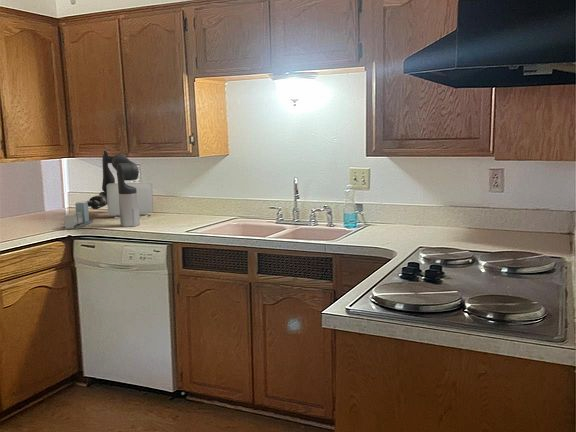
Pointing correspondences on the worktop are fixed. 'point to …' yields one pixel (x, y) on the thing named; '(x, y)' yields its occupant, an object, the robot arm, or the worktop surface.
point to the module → (83, 210)
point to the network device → (142, 198)
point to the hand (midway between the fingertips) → (87, 205)
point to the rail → (74, 221)
